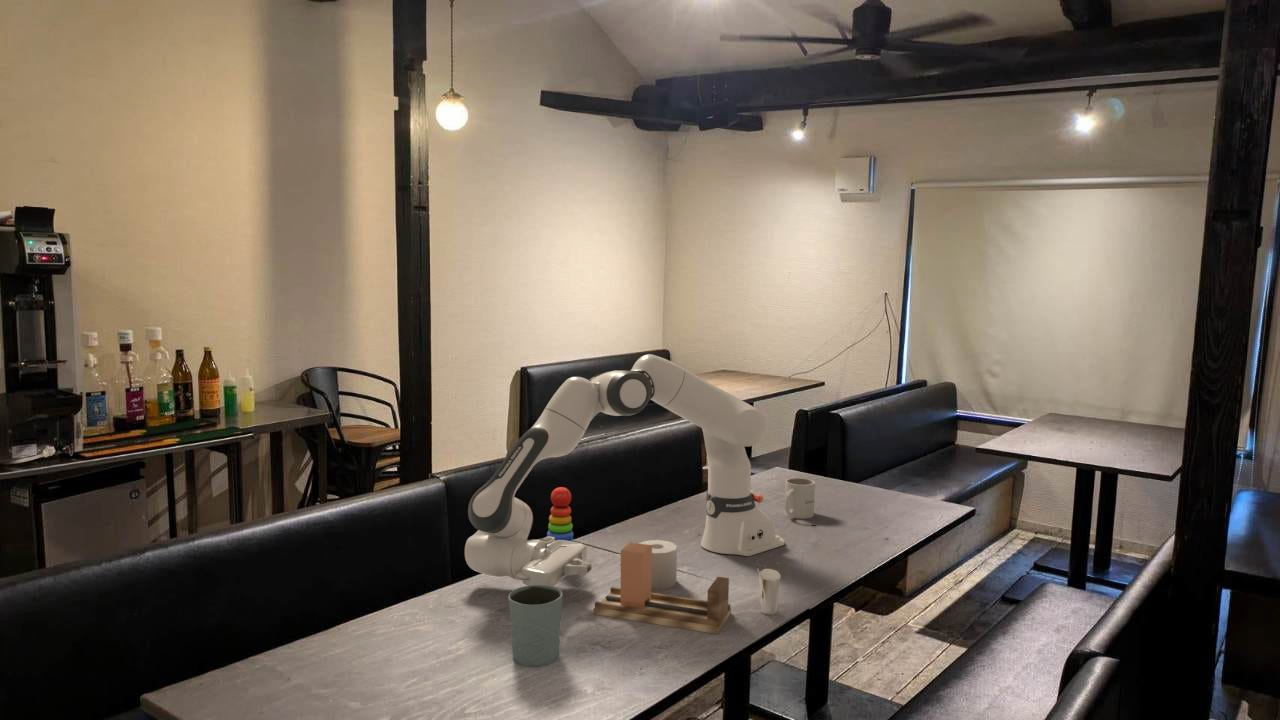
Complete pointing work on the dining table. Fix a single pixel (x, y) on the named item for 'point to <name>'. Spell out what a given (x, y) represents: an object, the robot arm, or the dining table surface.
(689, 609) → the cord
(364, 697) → the dining table surface
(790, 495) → the mug
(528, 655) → the green cup
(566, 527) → the stacking toy
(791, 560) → the dining table surface
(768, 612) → the milkshake
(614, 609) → the channel
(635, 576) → the panel
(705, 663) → the dining table surface
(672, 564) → the toilet tissue
